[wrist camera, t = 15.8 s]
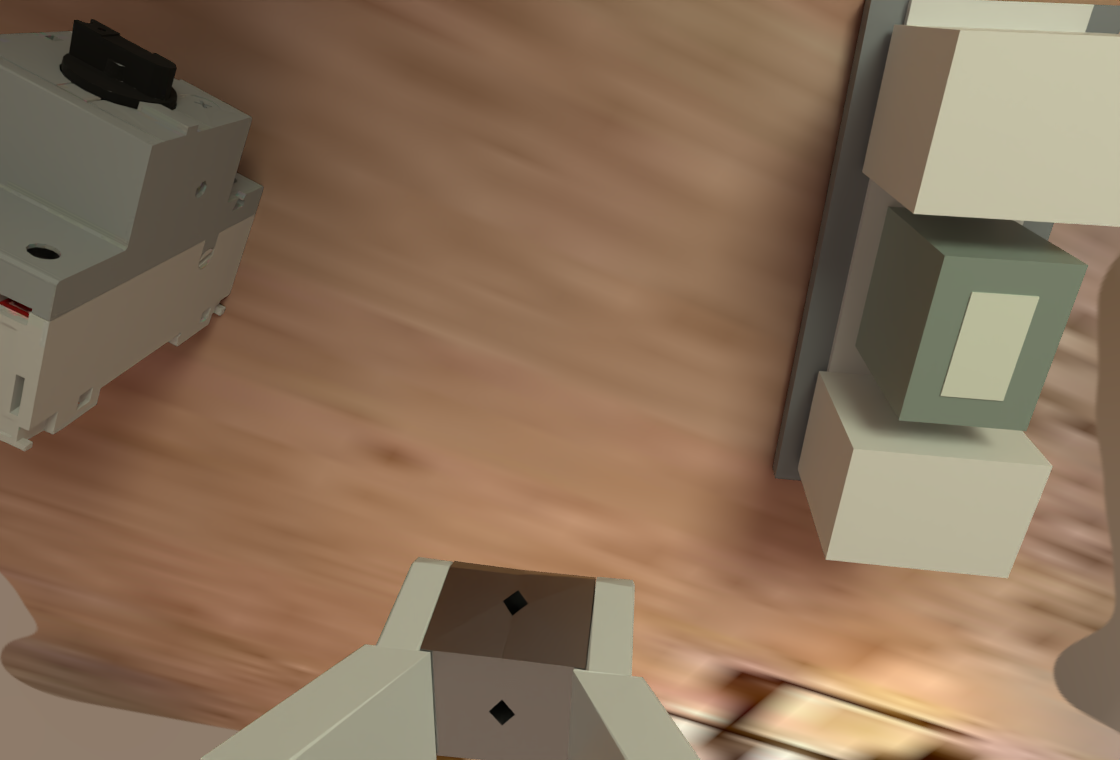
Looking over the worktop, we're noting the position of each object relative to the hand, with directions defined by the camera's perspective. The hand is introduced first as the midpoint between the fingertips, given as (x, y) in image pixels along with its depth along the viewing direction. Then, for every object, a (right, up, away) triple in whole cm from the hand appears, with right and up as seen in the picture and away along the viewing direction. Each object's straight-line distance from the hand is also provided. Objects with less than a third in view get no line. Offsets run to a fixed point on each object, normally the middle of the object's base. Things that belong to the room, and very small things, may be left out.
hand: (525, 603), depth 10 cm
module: (+18, +8, +25) cm, 32 cm away
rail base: (+18, +8, +26) cm, 33 cm away
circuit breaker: (-19, +14, +28) cm, 37 cm away
